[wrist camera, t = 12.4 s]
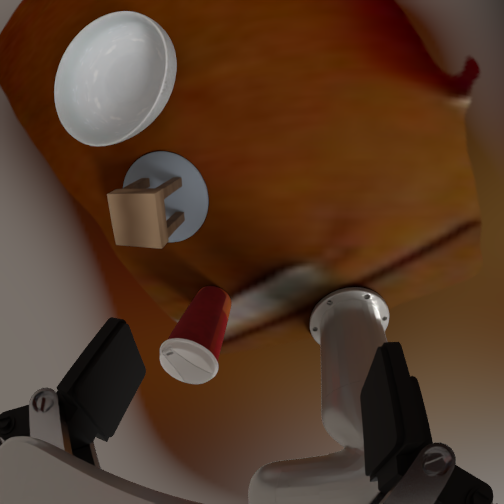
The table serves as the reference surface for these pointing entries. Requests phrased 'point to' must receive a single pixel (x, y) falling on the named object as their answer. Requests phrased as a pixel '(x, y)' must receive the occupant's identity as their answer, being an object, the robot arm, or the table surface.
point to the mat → (182, 200)
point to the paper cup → (197, 337)
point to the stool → (143, 213)
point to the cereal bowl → (114, 78)
